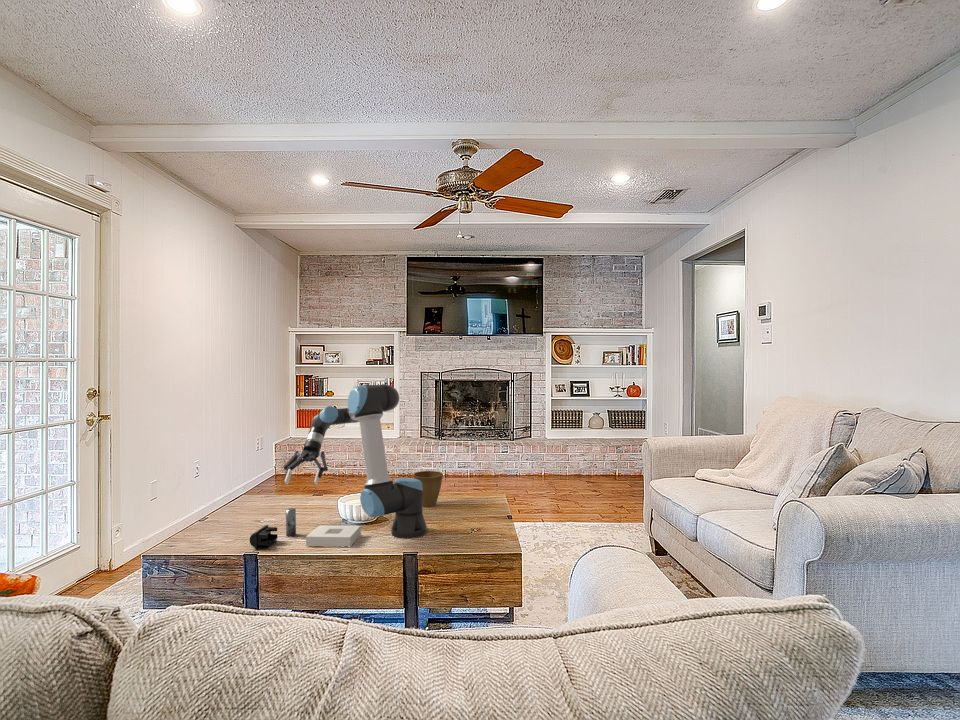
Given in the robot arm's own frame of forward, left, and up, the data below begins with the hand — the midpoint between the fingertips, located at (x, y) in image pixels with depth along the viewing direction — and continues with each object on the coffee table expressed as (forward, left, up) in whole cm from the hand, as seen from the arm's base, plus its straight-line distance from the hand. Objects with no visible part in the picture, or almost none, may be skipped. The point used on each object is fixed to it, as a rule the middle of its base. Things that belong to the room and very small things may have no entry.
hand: (300, 483), depth 238 cm
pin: (0, +12, -19) cm, 23 cm away
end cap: (+6, +24, -20) cm, 31 cm away
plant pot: (-51, -35, -20) cm, 65 cm away
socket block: (-21, +18, -19) cm, 34 cm away
